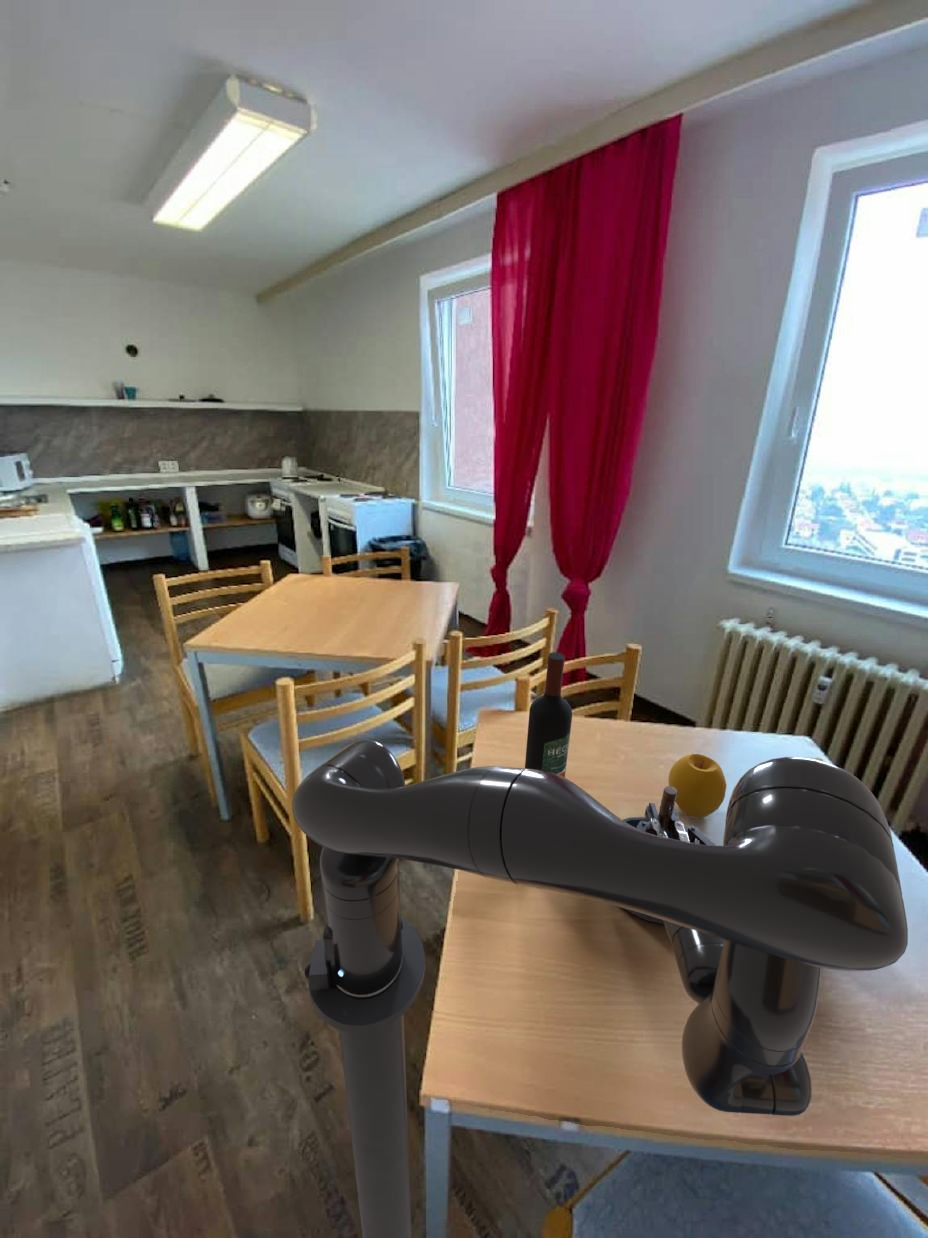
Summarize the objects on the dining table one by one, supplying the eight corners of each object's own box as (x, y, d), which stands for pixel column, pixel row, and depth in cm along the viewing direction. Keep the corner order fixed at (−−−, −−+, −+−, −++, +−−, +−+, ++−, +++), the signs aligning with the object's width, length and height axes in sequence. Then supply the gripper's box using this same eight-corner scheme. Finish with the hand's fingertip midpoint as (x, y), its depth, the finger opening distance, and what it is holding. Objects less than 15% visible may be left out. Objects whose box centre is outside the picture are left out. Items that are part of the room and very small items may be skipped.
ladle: (643, 886, 78) (660, 803, 72) (631, 859, 83) (646, 779, 77) (675, 885, 79) (695, 802, 73) (662, 858, 83) (679, 778, 77)
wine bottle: (541, 777, 104) (555, 642, 93) (570, 798, 99) (588, 658, 87) (514, 792, 100) (524, 653, 88) (542, 816, 95) (558, 670, 83)
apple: (652, 796, 100) (662, 746, 95) (695, 788, 102) (707, 739, 98) (684, 834, 91) (698, 781, 87) (730, 824, 94) (745, 772, 89)
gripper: (757, 891, 62) (709, 792, 78) (639, 879, 63) (616, 784, 79) (743, 935, 65) (700, 831, 81) (630, 922, 66) (610, 822, 82)
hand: (658, 808), depth 80 cm, fingers closed on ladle
